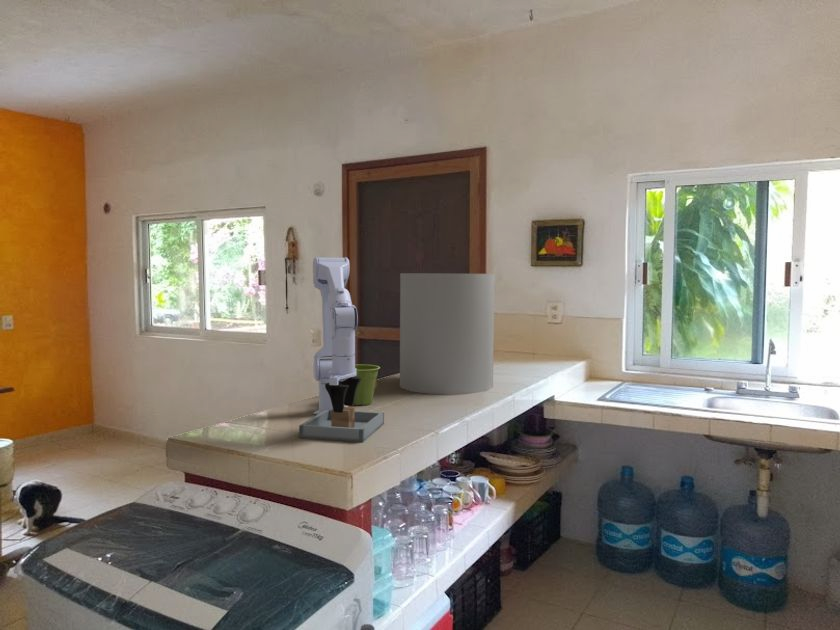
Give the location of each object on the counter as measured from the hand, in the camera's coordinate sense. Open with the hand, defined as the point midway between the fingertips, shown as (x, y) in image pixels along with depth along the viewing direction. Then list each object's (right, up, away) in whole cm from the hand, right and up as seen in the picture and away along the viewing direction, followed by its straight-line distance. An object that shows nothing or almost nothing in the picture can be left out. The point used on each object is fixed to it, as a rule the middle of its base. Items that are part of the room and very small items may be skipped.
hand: (343, 408), depth 150 cm
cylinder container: (+29, -2, +64) cm, 71 cm away
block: (0, -5, 0) cm, 5 cm away
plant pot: (+1, -4, +33) cm, 33 cm away
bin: (0, -6, 0) cm, 6 cm away
